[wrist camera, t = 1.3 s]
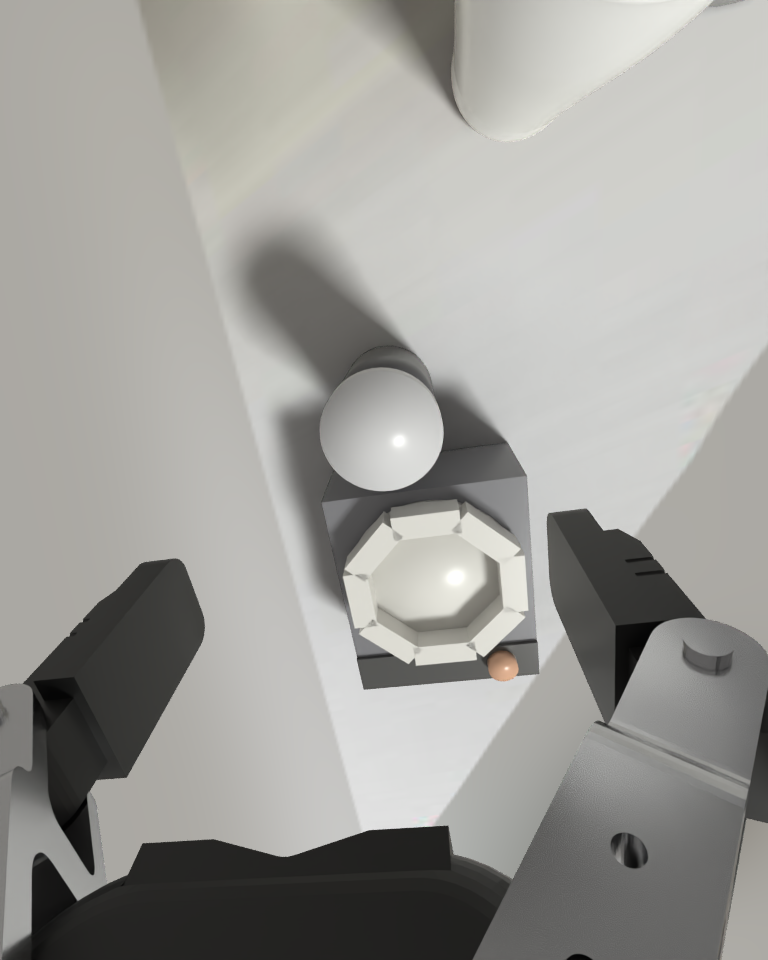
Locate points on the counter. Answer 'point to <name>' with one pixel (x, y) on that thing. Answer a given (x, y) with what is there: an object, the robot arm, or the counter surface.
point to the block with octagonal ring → (438, 571)
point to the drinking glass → (550, 55)
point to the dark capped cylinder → (383, 421)
